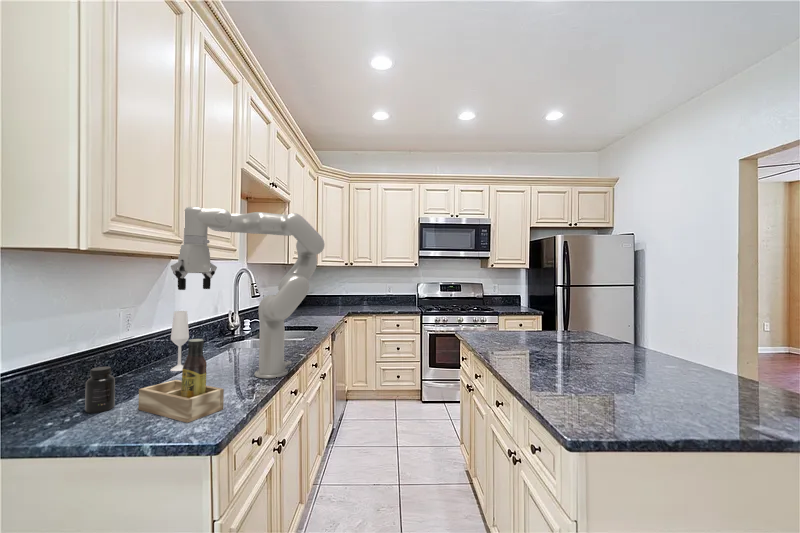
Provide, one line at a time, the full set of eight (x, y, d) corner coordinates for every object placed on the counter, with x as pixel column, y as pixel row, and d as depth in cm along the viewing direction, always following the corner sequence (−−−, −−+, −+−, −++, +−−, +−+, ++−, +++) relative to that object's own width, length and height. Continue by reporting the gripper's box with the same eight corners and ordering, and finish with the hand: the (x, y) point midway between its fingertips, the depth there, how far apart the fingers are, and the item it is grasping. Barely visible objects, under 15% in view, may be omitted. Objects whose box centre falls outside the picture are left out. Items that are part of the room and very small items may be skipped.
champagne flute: (173, 367, 161) (174, 310, 162) (190, 366, 163) (192, 310, 163) (167, 371, 155) (168, 312, 155) (185, 370, 156) (186, 312, 157)
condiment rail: (175, 398, 122) (176, 379, 122) (223, 409, 113) (223, 388, 113) (138, 409, 111) (138, 389, 112) (187, 422, 102) (187, 400, 102)
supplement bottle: (83, 409, 112) (84, 368, 112) (112, 403, 116) (113, 364, 117) (86, 415, 107) (87, 372, 107) (116, 409, 111) (117, 368, 112)
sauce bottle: (175, 410, 109) (177, 340, 109) (196, 403, 114) (197, 337, 115) (190, 414, 106) (191, 342, 106) (210, 407, 111) (211, 339, 112)
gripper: (209, 244, 146) (208, 288, 146) (165, 240, 131) (164, 289, 130) (223, 243, 143) (222, 289, 143) (179, 239, 128) (178, 290, 127)
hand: (194, 289), depth 137 cm, fingers open, 9 cm apart
